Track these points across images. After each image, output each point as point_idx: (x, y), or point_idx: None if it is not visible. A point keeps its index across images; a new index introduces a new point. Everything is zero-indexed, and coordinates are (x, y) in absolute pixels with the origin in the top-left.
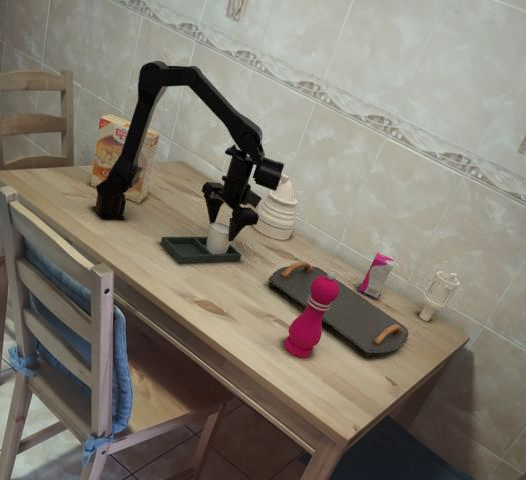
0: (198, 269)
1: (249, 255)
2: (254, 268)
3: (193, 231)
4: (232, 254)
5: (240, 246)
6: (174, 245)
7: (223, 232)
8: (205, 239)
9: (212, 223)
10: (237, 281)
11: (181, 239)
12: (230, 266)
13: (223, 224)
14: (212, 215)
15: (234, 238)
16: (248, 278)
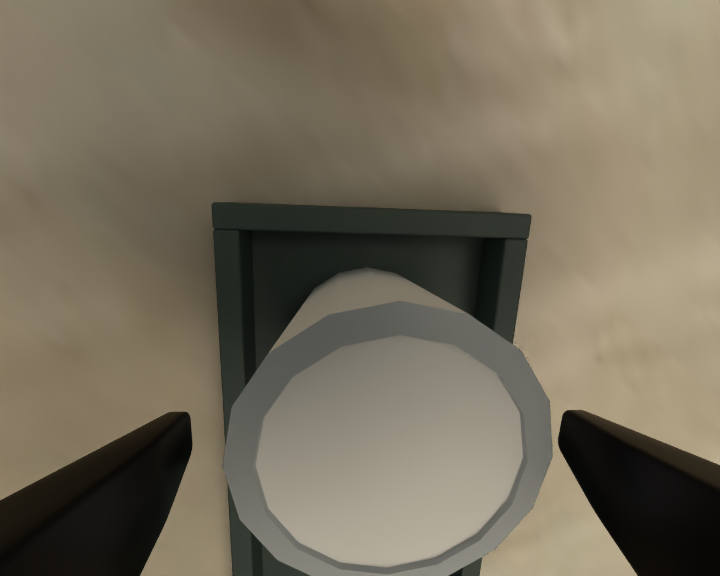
0: (517, 537)
1: (438, 33)
2: (609, 145)
3: (51, 328)
4: (510, 304)
5: (285, 10)
6: (277, 564)
7: (480, 497)
8: (247, 378)
9: (256, 524)
10: (682, 386)
11: (255, 555)
12: (538, 328)
13: (280, 381)
14: (119, 565)
15: (627, 431)
16: (686, 290)
